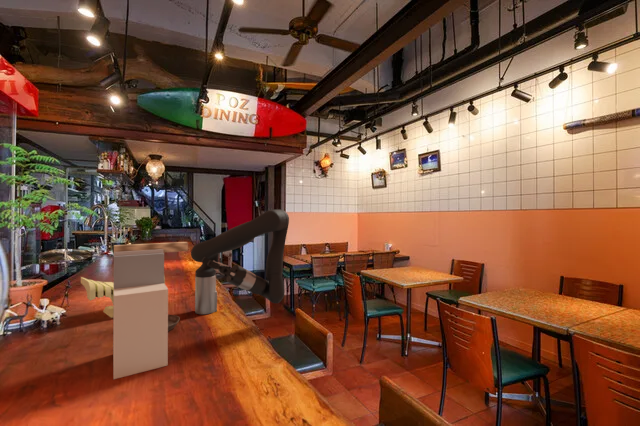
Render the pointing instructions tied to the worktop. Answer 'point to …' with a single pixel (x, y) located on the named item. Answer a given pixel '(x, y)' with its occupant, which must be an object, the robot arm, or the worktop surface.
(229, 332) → the worktop surface
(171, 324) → the plant saucer
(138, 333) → the stepped stand
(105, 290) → the slatted curved stool
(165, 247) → the maple bar
